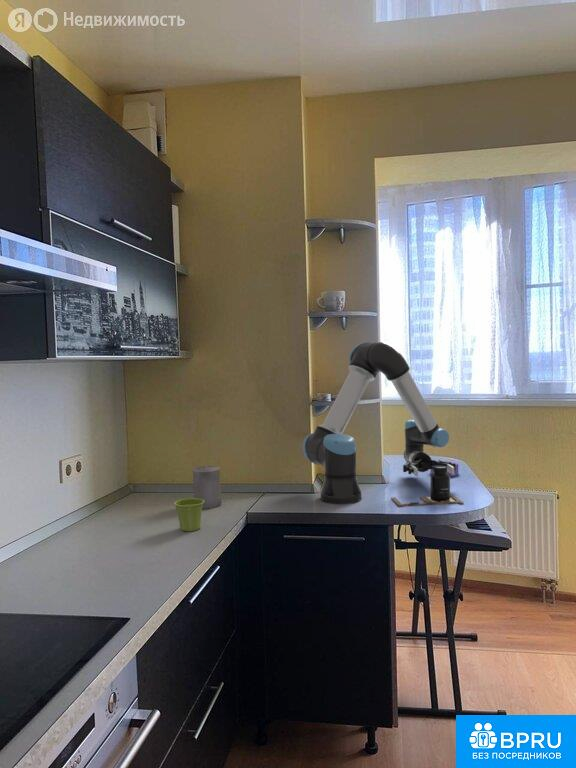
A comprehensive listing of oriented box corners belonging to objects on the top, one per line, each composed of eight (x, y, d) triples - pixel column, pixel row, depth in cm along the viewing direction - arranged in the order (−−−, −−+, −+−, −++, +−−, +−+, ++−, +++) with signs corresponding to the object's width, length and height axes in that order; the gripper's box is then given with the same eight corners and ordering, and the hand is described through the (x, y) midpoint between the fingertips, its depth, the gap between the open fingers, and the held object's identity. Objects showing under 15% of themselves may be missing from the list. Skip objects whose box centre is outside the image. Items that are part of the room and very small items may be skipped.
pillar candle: (206, 500, 218) (204, 461, 217) (226, 503, 213) (224, 463, 212) (189, 507, 210) (186, 466, 209) (210, 510, 205) (208, 468, 204)
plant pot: (173, 526, 186) (171, 500, 186) (202, 523, 190) (200, 496, 189) (178, 535, 178) (176, 507, 177) (208, 530, 181) (207, 503, 180)
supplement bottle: (445, 503, 204) (445, 469, 203) (427, 500, 208) (426, 467, 207) (453, 498, 209) (452, 465, 209) (435, 496, 213) (434, 464, 213)
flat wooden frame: (398, 507, 201) (398, 504, 201) (391, 499, 212) (391, 496, 212) (463, 504, 202) (463, 501, 202) (453, 496, 213) (453, 493, 213)
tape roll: (456, 471, 257) (456, 460, 257) (460, 477, 246) (460, 465, 245) (429, 471, 259) (428, 460, 259) (431, 477, 247) (431, 465, 247)
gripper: (451, 469, 237) (468, 480, 216) (390, 471, 236) (401, 483, 215) (450, 450, 236) (468, 460, 215) (389, 453, 236) (401, 463, 214)
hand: (435, 471), depth 215 cm, fingers open, 13 cm apart
